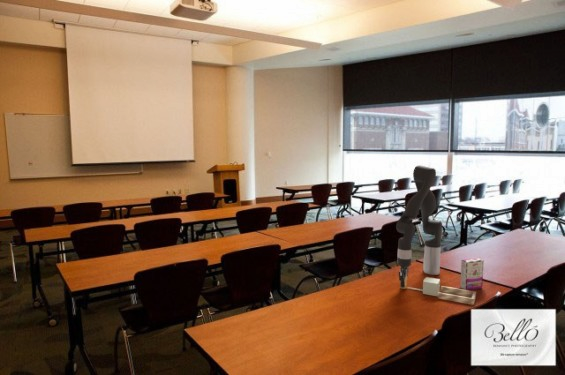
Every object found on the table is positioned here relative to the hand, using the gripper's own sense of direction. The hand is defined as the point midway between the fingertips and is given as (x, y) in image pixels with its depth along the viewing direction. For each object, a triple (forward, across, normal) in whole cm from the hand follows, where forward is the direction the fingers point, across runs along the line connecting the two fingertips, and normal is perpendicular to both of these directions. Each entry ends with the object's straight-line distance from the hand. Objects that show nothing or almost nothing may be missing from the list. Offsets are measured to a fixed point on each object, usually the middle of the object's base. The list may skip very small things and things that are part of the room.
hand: (403, 285), depth 230 cm
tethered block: (+1, 0, -9) cm, 9 cm away
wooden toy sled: (+1, 0, -28) cm, 28 cm away
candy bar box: (+1, +18, -33) cm, 38 cm away
